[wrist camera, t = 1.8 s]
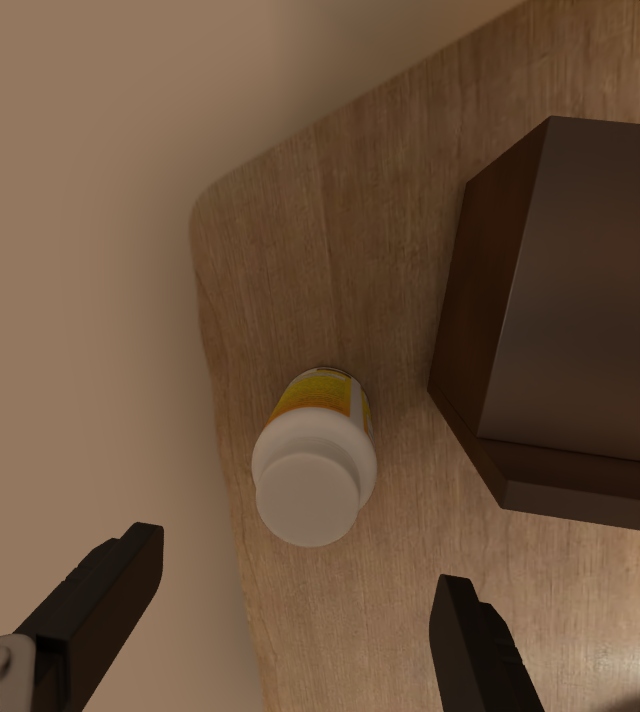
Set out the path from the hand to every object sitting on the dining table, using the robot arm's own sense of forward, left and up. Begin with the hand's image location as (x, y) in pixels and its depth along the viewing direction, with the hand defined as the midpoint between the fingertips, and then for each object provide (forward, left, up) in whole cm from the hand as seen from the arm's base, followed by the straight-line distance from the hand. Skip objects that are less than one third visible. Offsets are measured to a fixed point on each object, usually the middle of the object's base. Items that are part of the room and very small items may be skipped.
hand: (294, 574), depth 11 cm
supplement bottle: (0, 0, -14) cm, 14 cm away
